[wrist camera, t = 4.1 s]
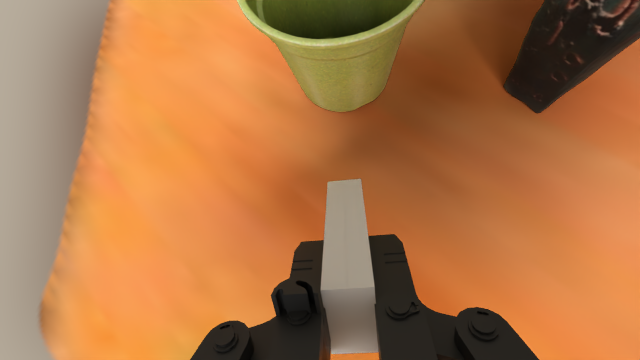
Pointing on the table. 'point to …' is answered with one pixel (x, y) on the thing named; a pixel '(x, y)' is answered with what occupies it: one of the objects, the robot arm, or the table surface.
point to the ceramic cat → (570, 46)
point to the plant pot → (335, 44)
